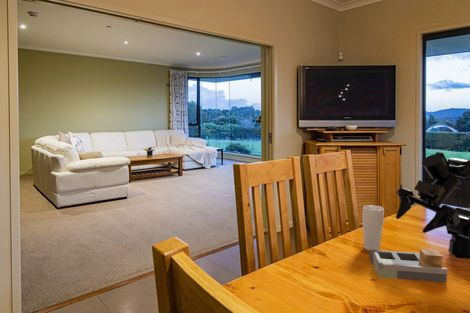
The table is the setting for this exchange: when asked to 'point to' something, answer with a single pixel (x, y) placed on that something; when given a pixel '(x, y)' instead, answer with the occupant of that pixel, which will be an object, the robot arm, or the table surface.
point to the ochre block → (430, 258)
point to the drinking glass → (372, 226)
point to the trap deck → (404, 266)
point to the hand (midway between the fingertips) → (409, 224)
